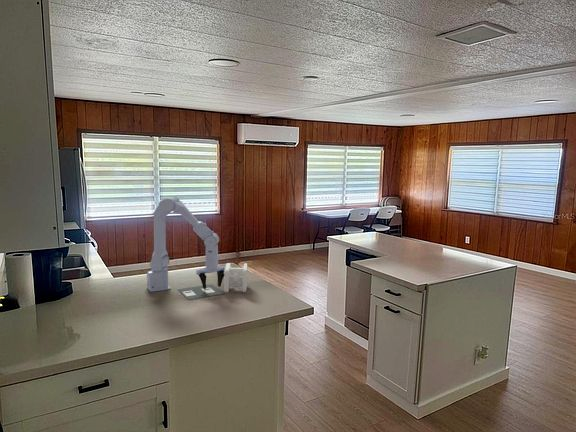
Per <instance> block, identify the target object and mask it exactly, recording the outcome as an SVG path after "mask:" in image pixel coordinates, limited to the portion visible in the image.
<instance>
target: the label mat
mask: <svg viewBox="0 0 576 432" xmlns="http://www.w3.org/2000/svg"><path fill="white" fill-rule="evenodd" d="M177 291H178V292H179V293H180V294H181V295H183V297H184V298H185V299H186V300H187V301H191V300H198V299H203V298H208V297H214V296H215V297H216V296H222V295H225V292H224V291H222V290H220V289H219V288H218V287H216V286H215V285H214V284H213V283H212V284H210V283H209V284H206V289H204V288H203V285H199V286H198V285H196V286H192V287H191V286H190V287H186V288H185V287H184V288H178V289H177Z"/></svg>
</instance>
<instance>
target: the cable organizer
mask: <svg viewBox="0 0 576 432" xmlns="http://www.w3.org/2000/svg"><path fill="white" fill-rule="evenodd" d="M224 266H225V269H224V275H225V276H224V277H223V286H224V287H223V293H229V291H230V289H231V290H232V291H233V289H234V288H238V290H242V293H243V294H245V293H246V292H247V287H248V284H247V283H248V263H247V262H246V263H244V262H243V267H232V264H231V262H227V263H226V264H225V265H224ZM244 292H245V293H244Z"/></svg>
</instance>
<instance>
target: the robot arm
mask: <svg viewBox="0 0 576 432" xmlns="http://www.w3.org/2000/svg"><path fill="white" fill-rule="evenodd" d="M170 213H173V214H177V215H181V216H182V218H184V219H185V220H186V221H187V222H188V223H189V224H190V225H191V226H192V230H193V231H194V232H195V234H196V235H198V237H199V238H201V240H202V241H203V244H204V246H205V267H204V268H198V269H196V271H195V274H196V275H197V276H198V277H199V279H200V282H201V284H202V285H201V286H203V288H204V289H206V285H207V275H206V274H210V273H216V276H217V286H218V287H219V288H220V287H221V286H222V284H223V283H222V282H223V281H224V277H225V275H224V269H225V265H224V266H223V265H222V266H219V245H218V243H219V241H220V236H219V235H218V233H216V232H214V231H213V230H211V229H210V227H208V226H207V223H206V222H204V221H200V220H198V219H197V218H196V216H194V215H193V213H192V212H191V211H190V210H189V208H188V207H187V206H186V205H185V204H184V202H183V201H181V200H180V198H179V197H176V196H171V197H165V198H164V199H162V200H161V201H159V202H158V205H157V206H156V208H155V210H154V212H153V252H152V254H151V260H150V262H149V267H150V270H149V271H147V272H146V288H147V289H148V291H149V292H150V293H152V292H160V291H167V290H171V289H172V287H171V286H169V267H168V265H169V264H170V257H169V255H168V254H169V253H168V250H167V244H166V243H167V241H166V239H167V238H166V237H167V235H166V234H167V233H166V231H167V230H166V229H167V228H166V227H167V225H166V224H167V223H166V219H167V216H168V215H170Z"/></svg>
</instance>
